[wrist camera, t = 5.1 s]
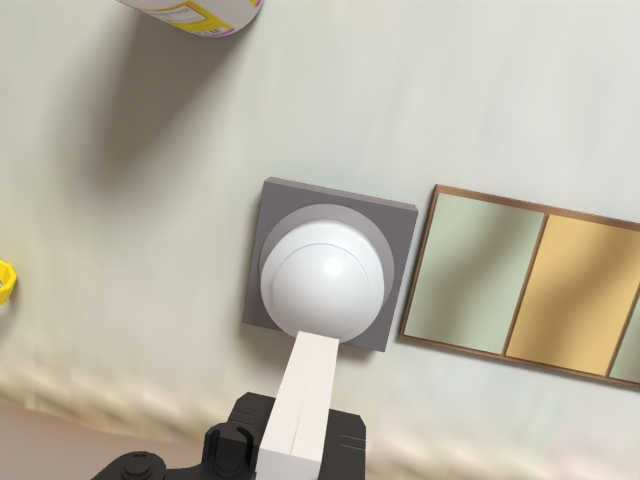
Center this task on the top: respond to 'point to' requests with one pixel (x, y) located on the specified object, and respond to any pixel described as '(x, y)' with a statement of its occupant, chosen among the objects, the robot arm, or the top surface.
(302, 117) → the top surface
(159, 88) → the top surface
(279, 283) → the dome
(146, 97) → the top surface
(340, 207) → the popper base
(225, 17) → the supplement bottle
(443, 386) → the top surface
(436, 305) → the track
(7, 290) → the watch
